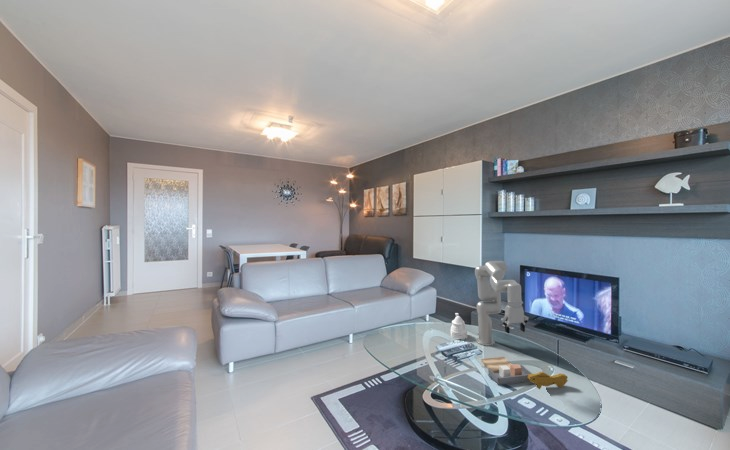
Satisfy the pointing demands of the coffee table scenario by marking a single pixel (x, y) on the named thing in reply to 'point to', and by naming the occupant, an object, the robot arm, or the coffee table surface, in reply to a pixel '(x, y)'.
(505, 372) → the cream block
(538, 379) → the decorative fish
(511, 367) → the terracotta block
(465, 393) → the coffee table surface
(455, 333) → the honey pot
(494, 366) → the board
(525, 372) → the box
